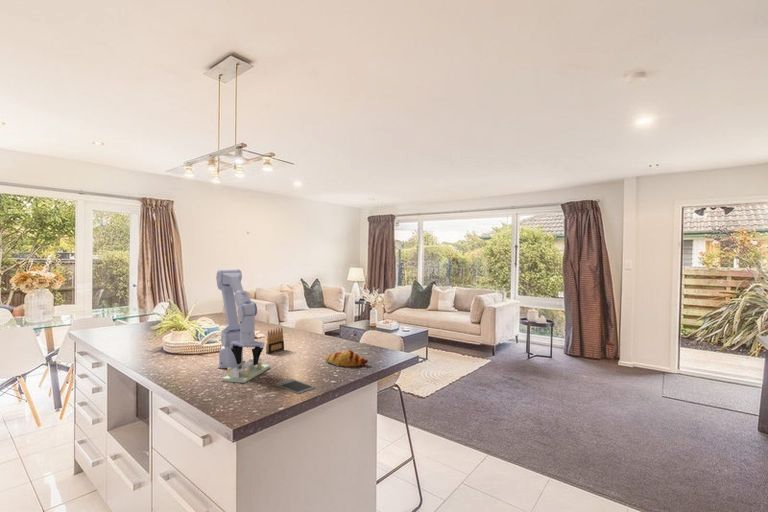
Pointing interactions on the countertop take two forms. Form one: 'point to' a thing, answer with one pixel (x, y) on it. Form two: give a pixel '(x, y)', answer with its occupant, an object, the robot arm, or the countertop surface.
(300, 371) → the countertop surface
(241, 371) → the grey bar
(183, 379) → the countertop surface
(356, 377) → the countertop surface
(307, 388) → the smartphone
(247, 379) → the rack
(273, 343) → the ammunition clip
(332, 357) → the croissant
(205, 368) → the countertop surface
